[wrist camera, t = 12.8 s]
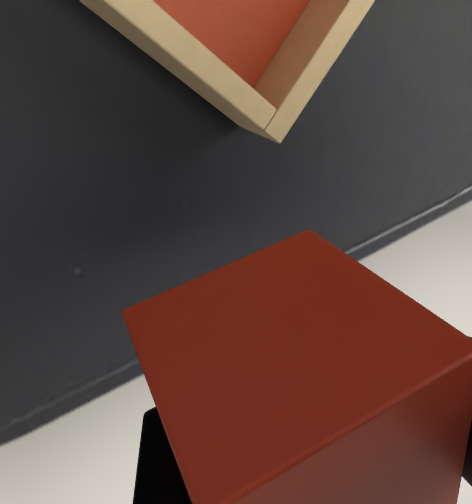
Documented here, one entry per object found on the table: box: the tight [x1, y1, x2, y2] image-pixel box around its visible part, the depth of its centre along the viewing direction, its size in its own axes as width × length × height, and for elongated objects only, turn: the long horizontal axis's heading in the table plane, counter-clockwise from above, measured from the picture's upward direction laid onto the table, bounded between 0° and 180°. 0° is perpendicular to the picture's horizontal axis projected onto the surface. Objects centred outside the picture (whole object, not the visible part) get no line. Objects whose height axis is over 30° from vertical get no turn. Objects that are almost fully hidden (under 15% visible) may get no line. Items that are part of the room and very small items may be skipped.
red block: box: [122, 230, 472, 504], centre depth 8 cm, size 4×4×4 cm
